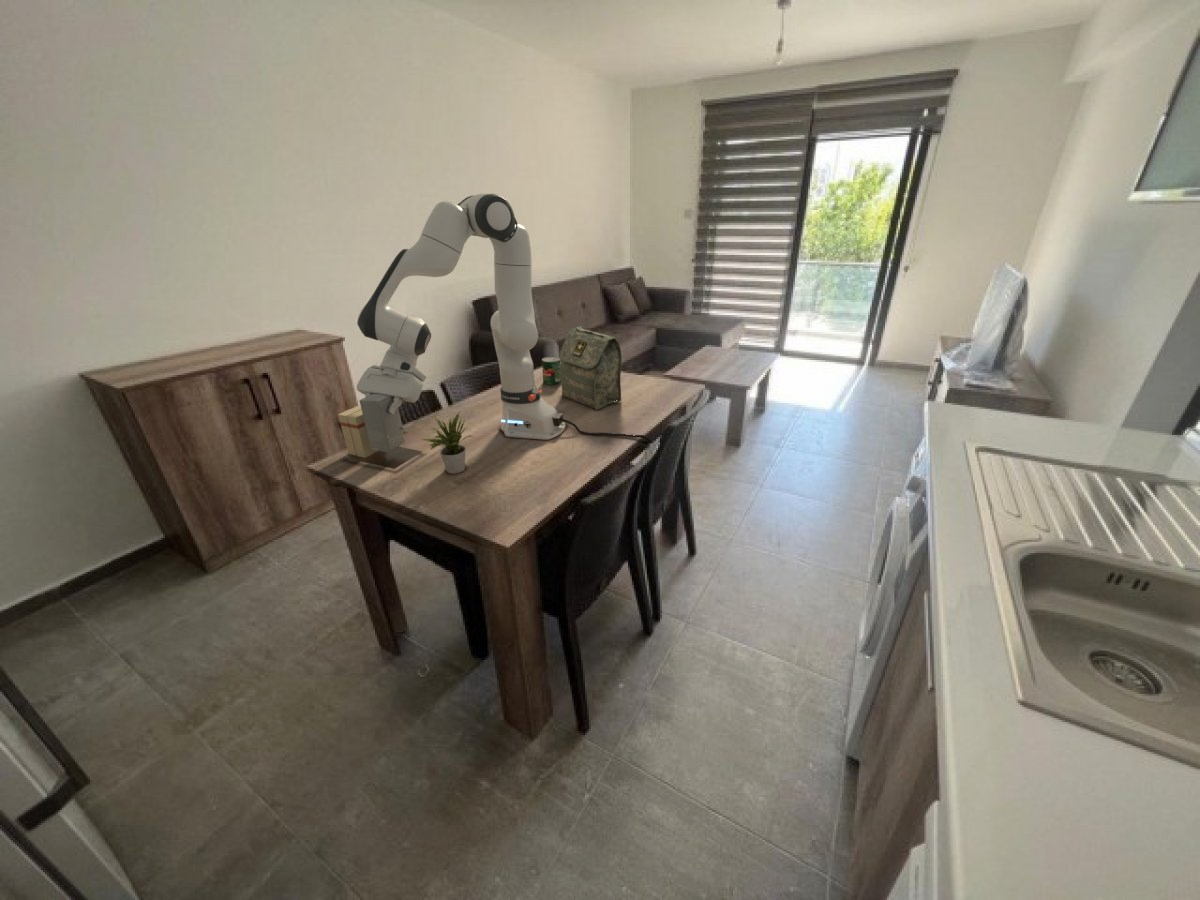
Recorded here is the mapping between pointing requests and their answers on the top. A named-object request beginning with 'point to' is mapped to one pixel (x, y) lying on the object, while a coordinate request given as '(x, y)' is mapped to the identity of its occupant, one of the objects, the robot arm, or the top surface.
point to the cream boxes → (355, 432)
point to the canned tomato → (551, 371)
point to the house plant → (450, 445)
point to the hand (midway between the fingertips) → (378, 411)
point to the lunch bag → (591, 368)
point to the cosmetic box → (382, 423)
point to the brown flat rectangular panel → (388, 457)
